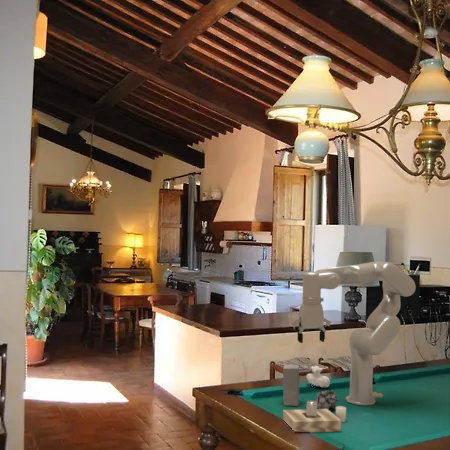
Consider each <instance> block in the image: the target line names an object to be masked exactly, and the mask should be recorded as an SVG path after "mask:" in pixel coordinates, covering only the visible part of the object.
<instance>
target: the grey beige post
mask: <svg viewBox="0 0 450 450" xmlns="http://www.w3.org/2000/svg"><path fill="white" fill-rule="evenodd" d="M305 407H306V408H305V409H306V418H317V409H318V407H317V402H316V400H307V401H306V406H305Z"/></svg>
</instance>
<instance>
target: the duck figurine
mask: <svg viewBox="0 0 450 450" xmlns="http://www.w3.org/2000/svg"><path fill="white" fill-rule="evenodd" d="M310 369H311V373H307V374H306V379H307V381H308V383H312V384H314V385H316V386H320V387H321V388H328V387H329V386H330V383H331V380H330V378H329V377H328V376H325V375H322V374H321V372H322V371H324V370H323V369H324V368H323V367H319V365H314V366H311V368H310Z"/></svg>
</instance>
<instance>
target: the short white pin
mask: <svg viewBox="0 0 450 450" xmlns="http://www.w3.org/2000/svg"><path fill="white" fill-rule="evenodd" d="M335 407H336V408H335V416H336V417H337V418H339V419H340V420H341V423H345V422H346V421H347V407H346V406H343V405H337V406H336V405H335Z"/></svg>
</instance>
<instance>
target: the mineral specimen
mask: <svg viewBox="0 0 450 450" xmlns="http://www.w3.org/2000/svg"><path fill="white" fill-rule="evenodd" d="M315 401H316V402H317V409H328V410H329V409H333V410H336V404H337V402H339V398H338V396H337V394H336V392H335V390H334V389H331V390H327V389H326V390H324V391H321V390H320V392H318V393H316V399H315Z"/></svg>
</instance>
